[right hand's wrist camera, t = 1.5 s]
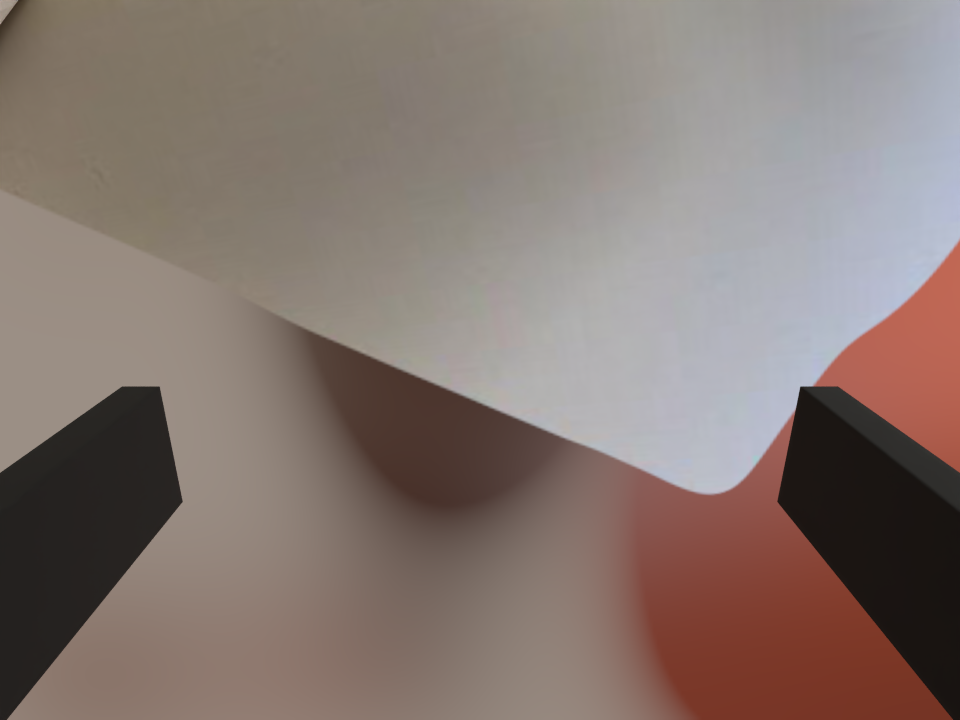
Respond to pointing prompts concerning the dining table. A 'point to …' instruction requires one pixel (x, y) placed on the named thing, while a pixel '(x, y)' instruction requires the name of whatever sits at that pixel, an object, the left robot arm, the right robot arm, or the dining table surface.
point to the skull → (6, 8)
